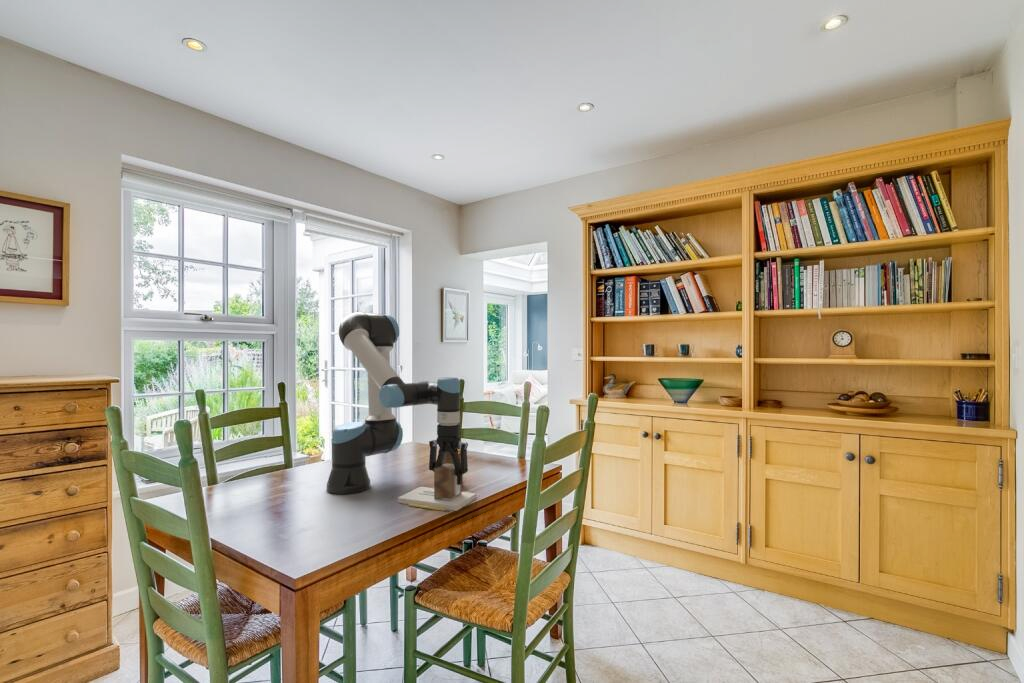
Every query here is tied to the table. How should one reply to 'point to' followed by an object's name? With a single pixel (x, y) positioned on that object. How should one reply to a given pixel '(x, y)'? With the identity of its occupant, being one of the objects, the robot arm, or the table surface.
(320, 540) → the table surface
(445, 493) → the block
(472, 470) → the table surface
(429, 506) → the pencil
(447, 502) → the board
